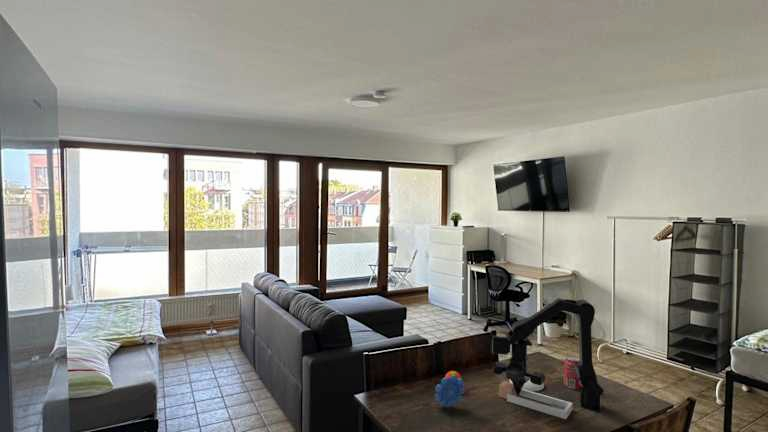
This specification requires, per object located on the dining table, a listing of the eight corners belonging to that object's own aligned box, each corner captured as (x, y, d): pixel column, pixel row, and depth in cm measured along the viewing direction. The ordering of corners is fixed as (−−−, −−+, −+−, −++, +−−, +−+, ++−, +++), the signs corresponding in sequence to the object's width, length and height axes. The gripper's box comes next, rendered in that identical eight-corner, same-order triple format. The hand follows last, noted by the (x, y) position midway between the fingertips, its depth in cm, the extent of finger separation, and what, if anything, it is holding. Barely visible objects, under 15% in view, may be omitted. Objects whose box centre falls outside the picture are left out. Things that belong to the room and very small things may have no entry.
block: (515, 395, 165) (516, 384, 165) (511, 400, 161) (511, 388, 161) (503, 392, 168) (503, 381, 168) (498, 396, 164) (499, 385, 164)
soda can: (578, 383, 177) (579, 355, 177) (584, 390, 170) (585, 361, 170) (561, 382, 178) (561, 354, 178) (566, 389, 171) (567, 361, 171)
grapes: (461, 401, 160) (462, 370, 160) (466, 409, 153) (467, 377, 153) (431, 402, 159) (432, 370, 158) (435, 410, 152) (436, 378, 152)
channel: (572, 409, 154) (572, 403, 154) (565, 419, 147) (565, 412, 147) (515, 393, 167) (515, 386, 167) (506, 401, 160) (507, 394, 160)
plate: (548, 383, 177) (548, 380, 177) (537, 394, 166) (537, 392, 166) (516, 374, 186) (516, 372, 186) (504, 384, 175) (504, 382, 175)
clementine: (461, 393, 166) (461, 376, 166) (443, 392, 168) (444, 374, 167) (461, 385, 174) (462, 368, 174) (445, 383, 175) (445, 367, 175)
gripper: (487, 355, 161) (487, 395, 161) (536, 367, 150) (535, 410, 150) (499, 348, 170) (498, 385, 170) (546, 358, 158) (545, 399, 159)
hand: (518, 395), depth 162 cm, fingers closed
